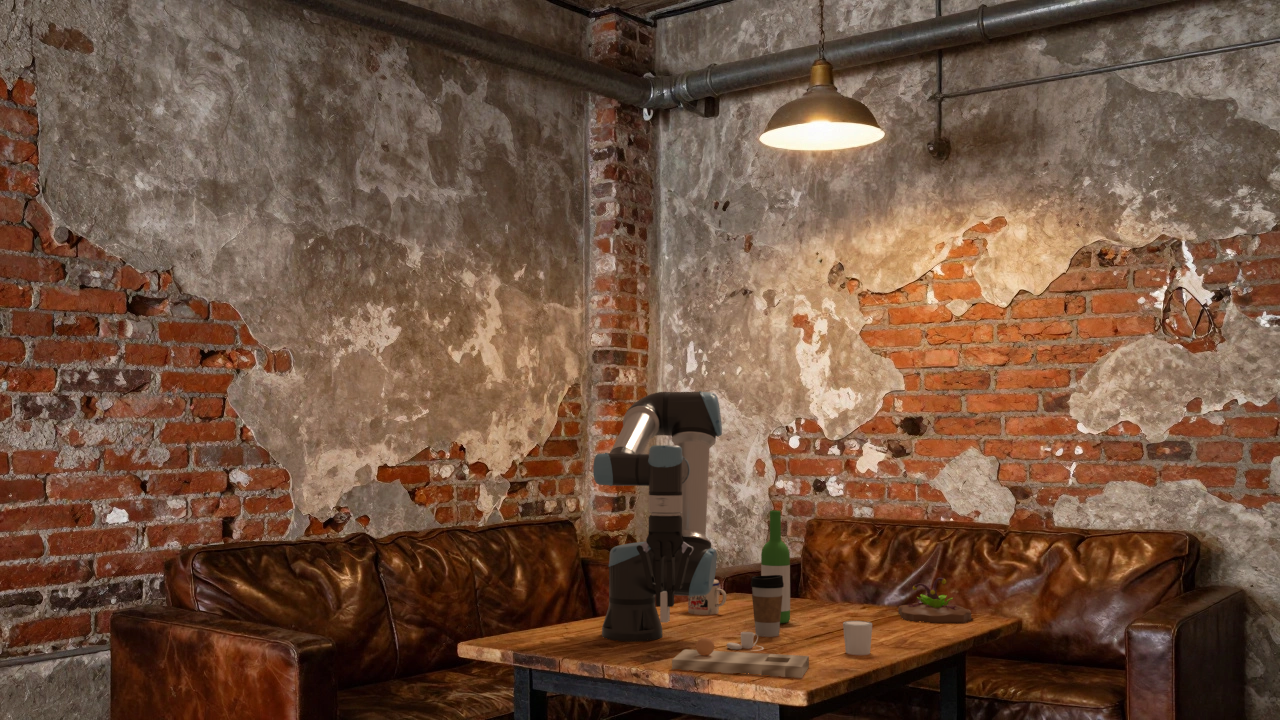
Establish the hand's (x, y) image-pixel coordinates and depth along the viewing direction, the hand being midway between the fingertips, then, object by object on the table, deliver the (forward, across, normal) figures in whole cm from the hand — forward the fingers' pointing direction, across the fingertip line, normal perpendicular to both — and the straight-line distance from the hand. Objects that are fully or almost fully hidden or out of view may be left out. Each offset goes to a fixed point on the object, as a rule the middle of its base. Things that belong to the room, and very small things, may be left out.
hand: (665, 621), depth 257 cm
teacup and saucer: (+10, +11, +26) cm, 30 cm away
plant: (+9, +57, +86) cm, 103 cm away
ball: (+5, +9, 0) cm, 10 cm away
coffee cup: (+9, +16, +44) cm, 47 cm away
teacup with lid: (+9, -6, +73) cm, 74 cm away
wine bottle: (+9, +15, +64) cm, 67 cm away
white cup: (+10, +40, +26) cm, 49 cm away
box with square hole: (+10, +17, 0) cm, 19 cm away
